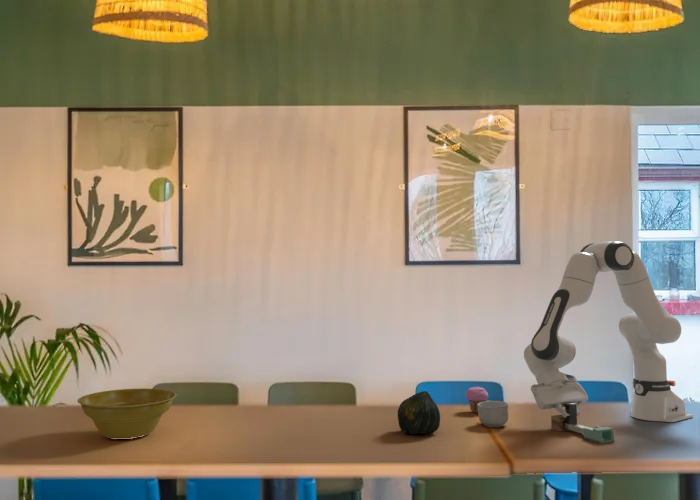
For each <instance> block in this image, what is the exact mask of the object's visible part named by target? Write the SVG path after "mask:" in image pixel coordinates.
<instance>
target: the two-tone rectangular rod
mask: <svg viewBox="0 0 700 500" xmlns="http://www.w3.org/2000/svg"><path fill="white" fill-rule="evenodd" d="M564 410H565V411H568V413H569V414H570V416H569V417H567V418H565V421H563V428H566V429H569V430H568V431H572V432H576V433H580V434H583V435H584V428H589V429H592V430H593V429H594V428H593V427H590V426H586V425H582V424H579V423H578V416H577V406H576V404H575V403H565V407H564Z"/></svg>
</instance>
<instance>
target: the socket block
mask: <svg viewBox="0 0 700 500" xmlns="http://www.w3.org/2000/svg"><path fill="white" fill-rule="evenodd" d="M550 418H551V419H550V421H551V423H550V424H551V425H550V427H551V429H552V430H554V431H558V432H564V430H565V431H570V430H569V429H566V428H563V421H565V418H564V417H563V415H562V414H555V415H551V416H550Z"/></svg>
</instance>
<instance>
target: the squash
mask: <svg viewBox="0 0 700 500" xmlns="http://www.w3.org/2000/svg"><path fill="white" fill-rule="evenodd" d="M440 413H441V412H440V409H439V406H438V405H437V403H436V402H435V401H434V398H432V396H431V394H430V393H429V392H428V391H427V390H426V391H425V390H424V391H420V392H419V391H418V392H417V393H415V394H413V395H410V397H408V398H406V399H404V400H403V401H402V402H401V403H400V405H399V407H398V409H397V420H398V426H399V429H400V431H402V433H404V434H406V435H412V436H413V435H417V434H428V433H430V434H434V433H435V432H437V431H438V429H439V427H440V424H441V414H440Z"/></svg>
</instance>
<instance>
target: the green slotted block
mask: <svg viewBox="0 0 700 500" xmlns="http://www.w3.org/2000/svg"><path fill="white" fill-rule="evenodd" d="M589 428H590V427H589ZM589 428H584V434H583V439H584V440H588V441H591V442H594V443H597V444H606V443H607V444H608V443H613V442H615V430H614V429H613V428H611V427H608V426H605V427H602V426H598V425H597V426H595V428H593V430H592V429H589Z"/></svg>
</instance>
